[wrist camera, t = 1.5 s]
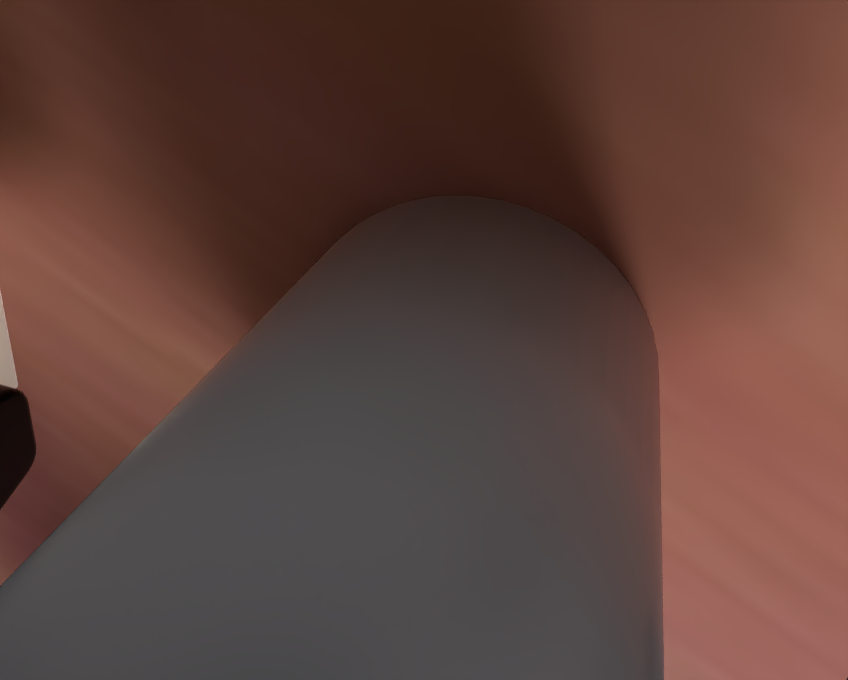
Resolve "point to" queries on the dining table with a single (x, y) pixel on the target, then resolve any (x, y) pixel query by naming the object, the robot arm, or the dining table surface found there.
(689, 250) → the dining table surface
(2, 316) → the cream block
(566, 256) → the grey canister
